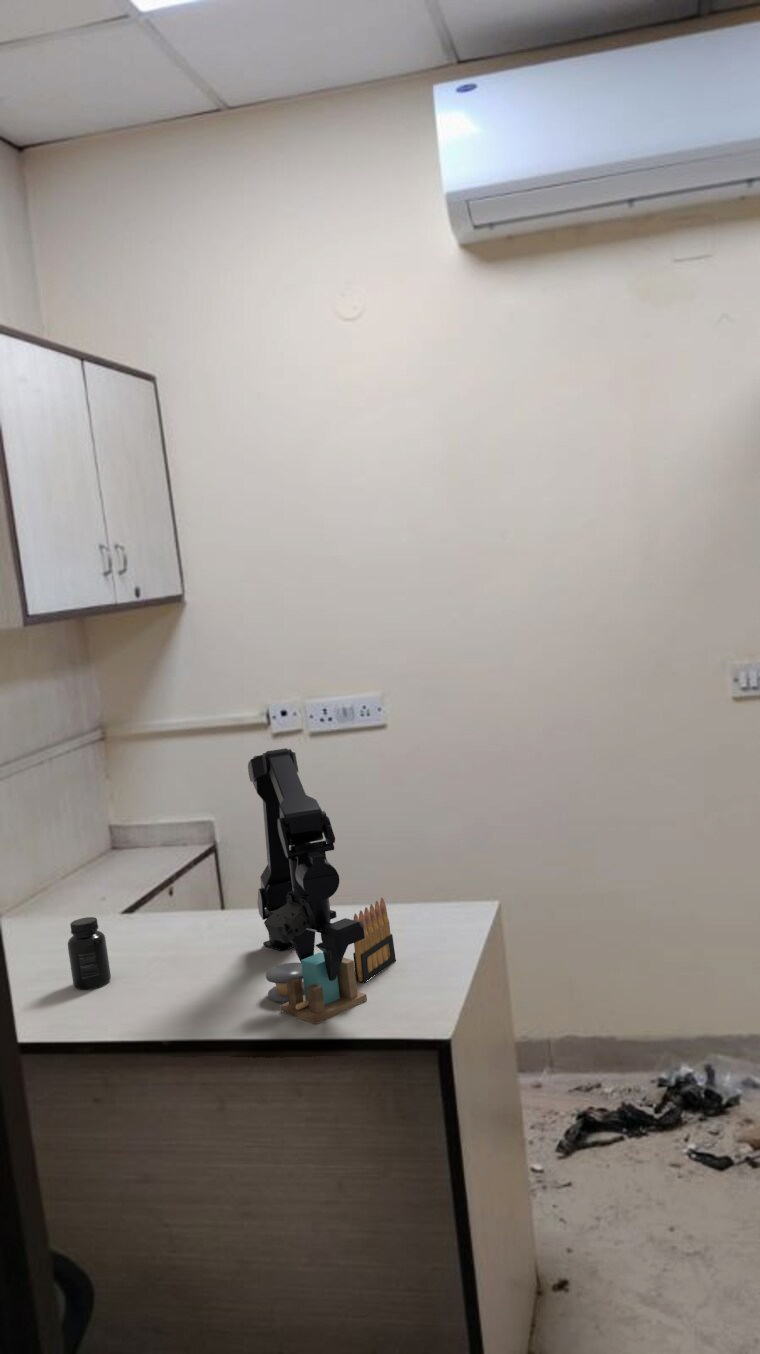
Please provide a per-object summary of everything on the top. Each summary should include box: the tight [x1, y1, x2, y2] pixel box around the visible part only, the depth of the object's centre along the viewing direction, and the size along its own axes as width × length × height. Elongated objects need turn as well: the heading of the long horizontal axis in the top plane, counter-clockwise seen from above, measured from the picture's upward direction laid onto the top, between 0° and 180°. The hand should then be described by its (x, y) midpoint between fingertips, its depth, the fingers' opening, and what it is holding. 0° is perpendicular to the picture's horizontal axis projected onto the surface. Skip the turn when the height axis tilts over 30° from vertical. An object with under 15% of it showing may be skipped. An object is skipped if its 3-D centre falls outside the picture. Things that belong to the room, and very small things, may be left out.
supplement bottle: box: [67, 916, 112, 991], centre depth 191 cm, size 7×7×12 cm
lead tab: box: [296, 952, 340, 1010], centre depth 168 cm, size 4×7×7 cm, turn 132°
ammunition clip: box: [352, 897, 397, 984], centre depth 182 cm, size 11×2×12 cm, turn 148°
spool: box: [265, 962, 305, 1004], centre depth 176 cm, size 8×8×4 cm
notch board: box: [279, 956, 368, 1025], centre depth 169 cm, size 9×11×7 cm
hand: (320, 976), depth 169 cm, fingers open, 6 cm apart
